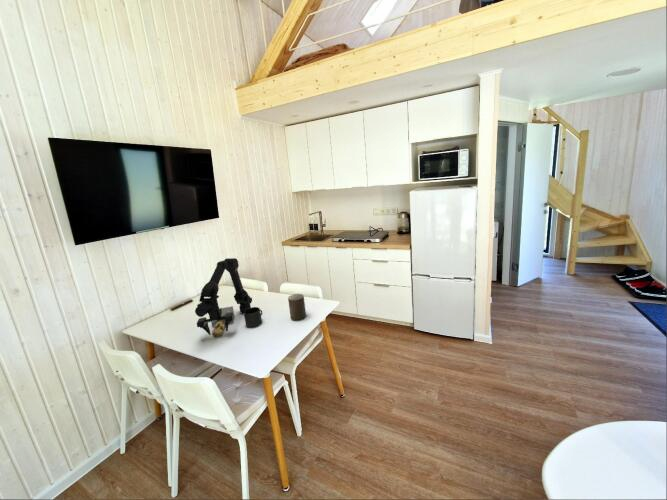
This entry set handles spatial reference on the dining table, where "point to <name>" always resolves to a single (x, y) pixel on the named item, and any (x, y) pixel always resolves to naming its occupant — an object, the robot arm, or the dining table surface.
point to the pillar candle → (297, 307)
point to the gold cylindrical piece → (218, 328)
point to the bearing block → (224, 311)
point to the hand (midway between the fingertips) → (218, 333)
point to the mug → (253, 317)
